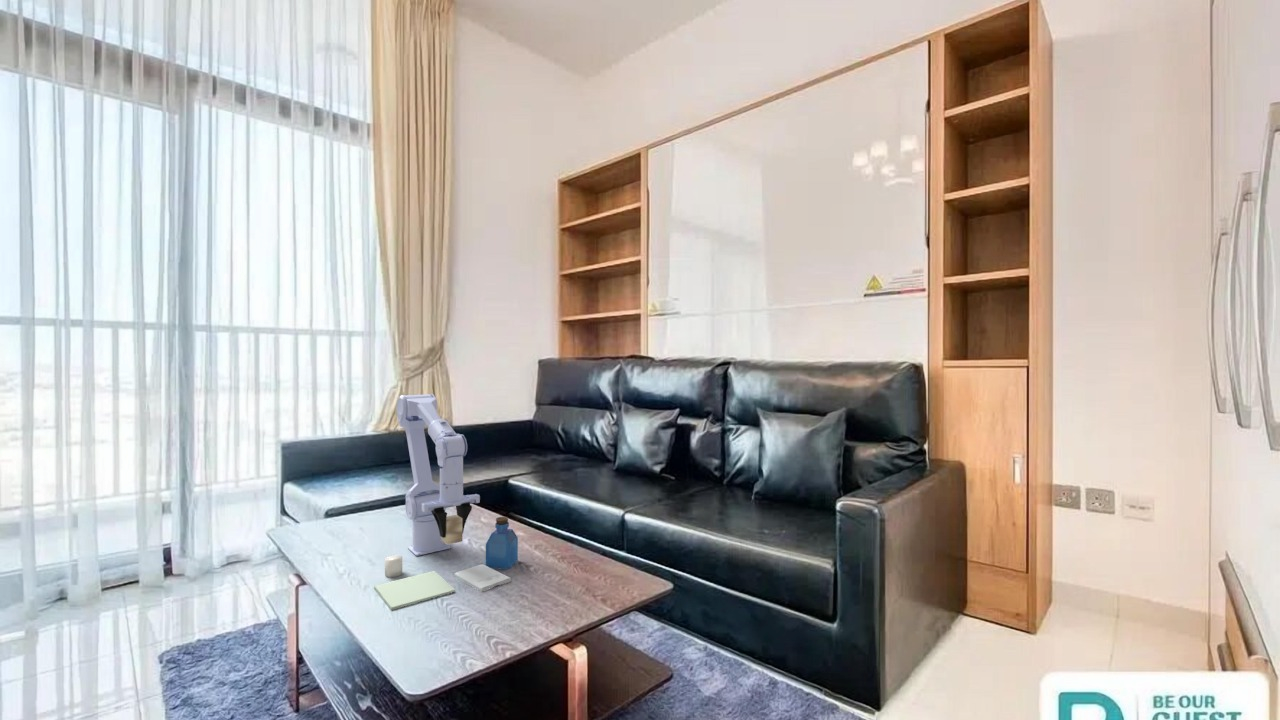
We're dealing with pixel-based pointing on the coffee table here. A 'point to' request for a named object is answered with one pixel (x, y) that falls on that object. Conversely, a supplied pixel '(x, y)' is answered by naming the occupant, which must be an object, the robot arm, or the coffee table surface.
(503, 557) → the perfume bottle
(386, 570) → the ceramic cylinder
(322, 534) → the coffee table surface
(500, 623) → the coffee table surface
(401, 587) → the sage mat
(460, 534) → the birch block
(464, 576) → the external hard drive
